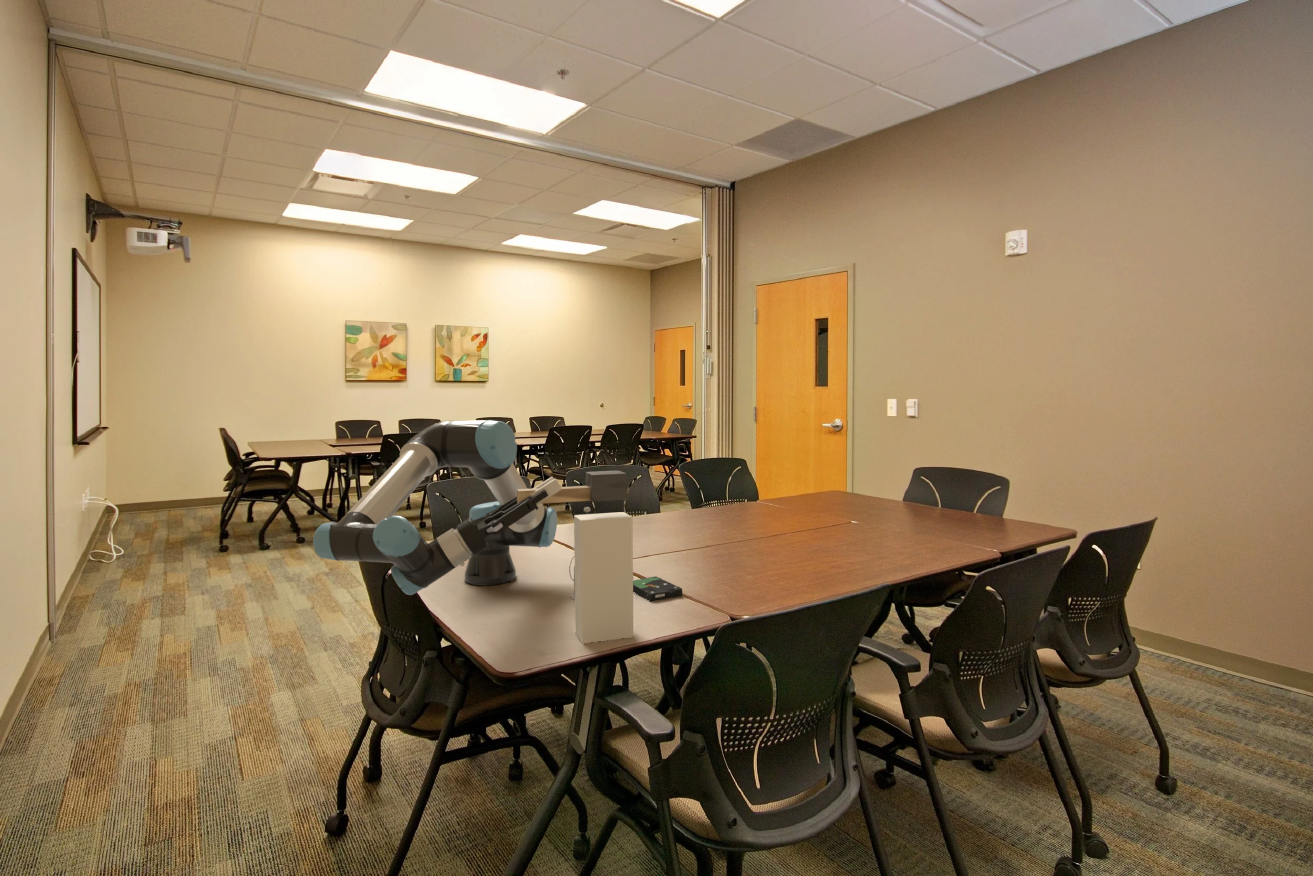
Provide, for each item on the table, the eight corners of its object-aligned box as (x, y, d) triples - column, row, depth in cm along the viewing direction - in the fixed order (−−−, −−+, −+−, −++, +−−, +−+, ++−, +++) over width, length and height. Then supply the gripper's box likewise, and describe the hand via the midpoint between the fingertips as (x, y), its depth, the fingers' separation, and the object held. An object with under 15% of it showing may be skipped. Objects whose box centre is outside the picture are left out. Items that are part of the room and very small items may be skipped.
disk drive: (683, 598, 189) (655, 584, 202) (683, 588, 189) (655, 575, 201) (651, 604, 184) (625, 590, 196) (651, 594, 183) (625, 580, 196)
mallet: (516, 501, 153) (515, 475, 152) (618, 495, 161) (618, 470, 160) (519, 506, 147) (519, 478, 147) (626, 499, 155) (626, 473, 155)
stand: (575, 633, 160) (573, 515, 158) (624, 627, 164) (623, 512, 162) (582, 643, 153) (580, 520, 151) (633, 637, 157) (632, 517, 155)
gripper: (470, 547, 155) (558, 491, 161) (476, 564, 140) (573, 502, 146) (452, 520, 153) (542, 464, 159) (456, 534, 138) (555, 472, 144)
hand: (556, 482), depth 152 cm, fingers closed on mallet, 3 cm apart
